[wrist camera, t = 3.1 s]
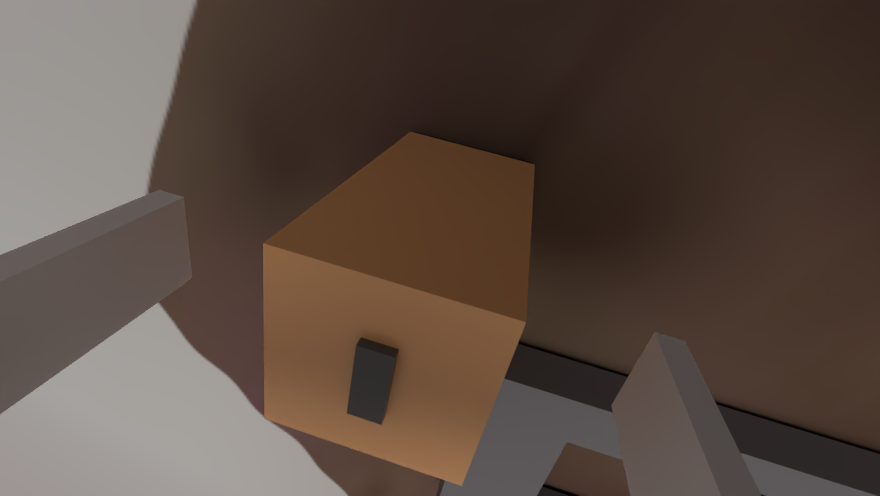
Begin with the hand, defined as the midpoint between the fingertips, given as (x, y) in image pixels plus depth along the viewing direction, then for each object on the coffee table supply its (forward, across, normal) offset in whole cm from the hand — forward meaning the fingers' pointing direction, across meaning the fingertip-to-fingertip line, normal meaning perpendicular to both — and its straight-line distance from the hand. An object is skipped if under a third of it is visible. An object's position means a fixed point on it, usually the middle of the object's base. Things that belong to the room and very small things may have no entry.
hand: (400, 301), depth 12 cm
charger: (+7, 0, 0) cm, 7 cm away
